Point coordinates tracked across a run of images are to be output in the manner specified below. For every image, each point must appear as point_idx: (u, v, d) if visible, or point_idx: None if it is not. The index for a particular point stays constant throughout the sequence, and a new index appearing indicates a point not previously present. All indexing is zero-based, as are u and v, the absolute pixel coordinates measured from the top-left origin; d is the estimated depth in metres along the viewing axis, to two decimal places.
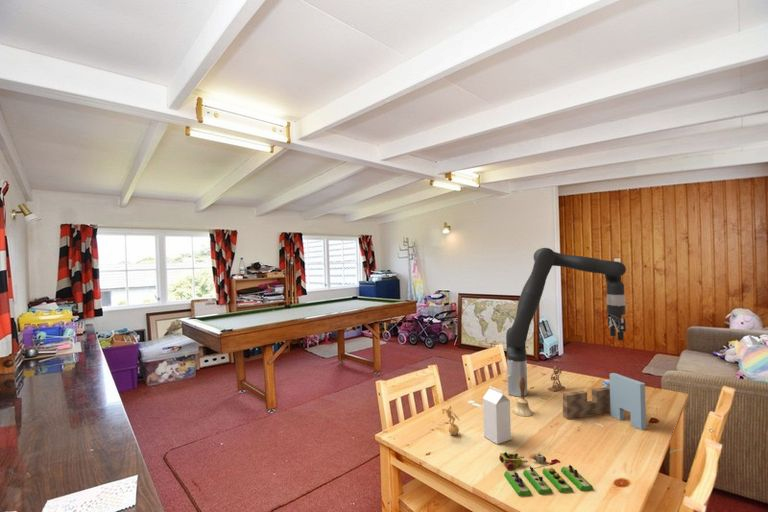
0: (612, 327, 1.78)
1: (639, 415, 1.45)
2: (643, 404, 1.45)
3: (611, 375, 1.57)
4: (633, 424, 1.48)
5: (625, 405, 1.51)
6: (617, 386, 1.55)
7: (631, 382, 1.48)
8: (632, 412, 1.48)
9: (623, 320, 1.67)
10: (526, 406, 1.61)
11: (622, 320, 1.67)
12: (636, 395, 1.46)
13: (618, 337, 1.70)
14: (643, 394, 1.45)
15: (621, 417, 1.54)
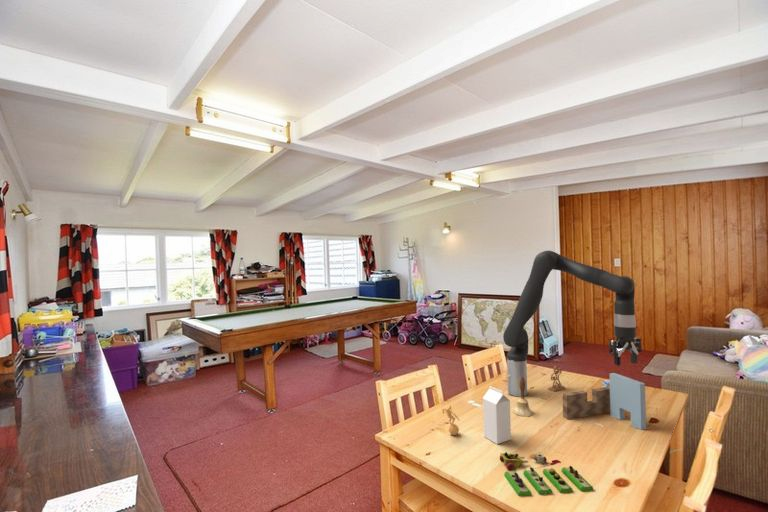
0: None
1: (639, 415, 1.45)
2: (643, 404, 1.45)
3: (611, 375, 1.57)
4: (633, 424, 1.48)
5: (625, 405, 1.51)
6: (617, 386, 1.55)
7: (631, 382, 1.48)
8: (632, 412, 1.48)
9: None
10: (526, 406, 1.61)
11: None
12: (636, 395, 1.46)
13: (636, 360, 1.52)
14: (643, 394, 1.45)
15: (621, 417, 1.54)
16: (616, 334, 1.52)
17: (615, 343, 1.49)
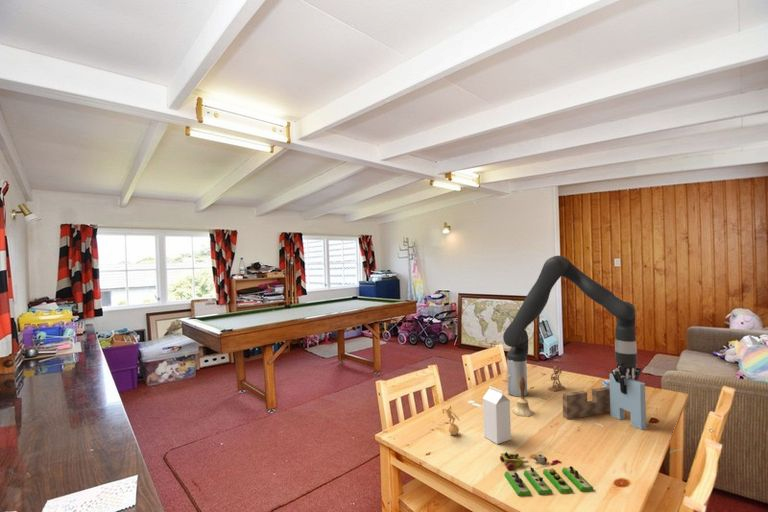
0: None
1: (639, 415, 1.45)
2: (643, 404, 1.45)
3: (611, 375, 1.57)
4: (633, 424, 1.48)
5: (625, 405, 1.51)
6: (617, 386, 1.55)
7: (631, 382, 1.48)
8: (632, 412, 1.48)
9: None
10: (526, 406, 1.61)
11: None
12: (636, 395, 1.46)
13: None
14: (643, 394, 1.45)
15: (621, 417, 1.54)
16: (617, 360, 1.52)
17: (617, 373, 1.49)
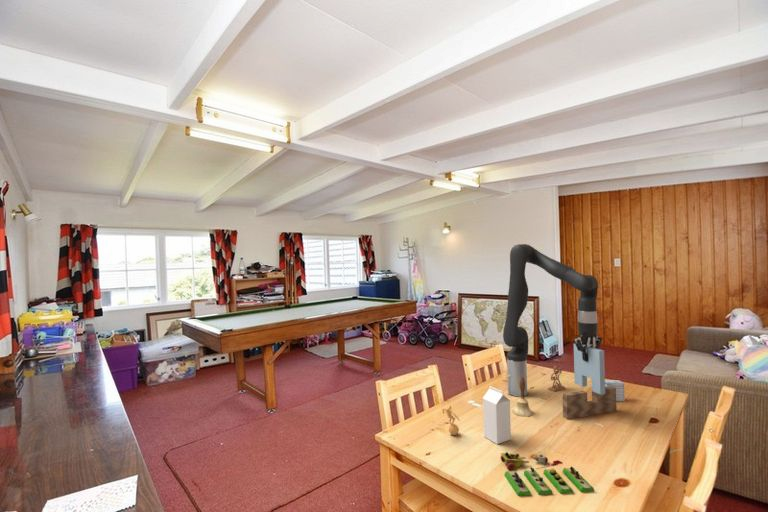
0: None
1: (598, 380, 1.54)
2: (602, 370, 1.54)
3: (575, 345, 1.66)
4: (593, 389, 1.56)
5: (587, 372, 1.60)
6: (580, 355, 1.63)
7: (592, 350, 1.57)
8: (593, 378, 1.57)
9: None
10: (526, 406, 1.61)
11: None
12: (596, 361, 1.55)
13: None
14: (602, 360, 1.54)
15: (584, 384, 1.63)
16: (579, 329, 1.60)
17: (579, 342, 1.58)
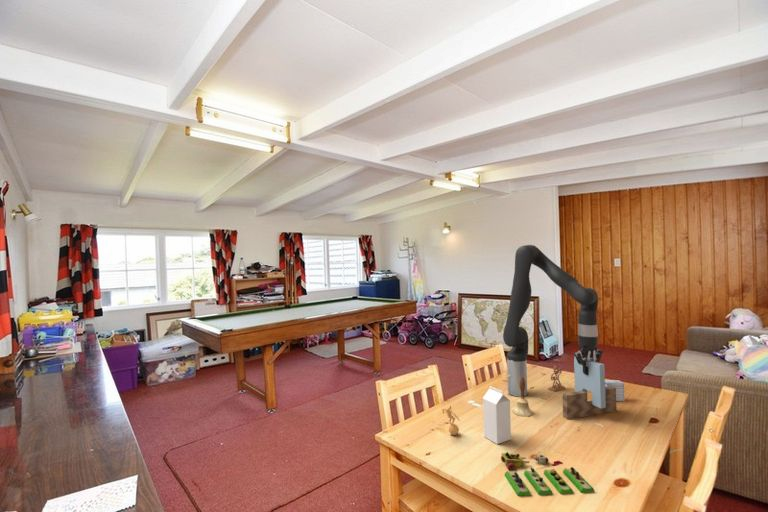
0: None
1: (599, 394, 1.54)
2: (602, 384, 1.54)
3: (575, 358, 1.66)
4: (594, 403, 1.56)
5: (587, 386, 1.60)
6: (580, 368, 1.63)
7: (592, 363, 1.57)
8: (593, 392, 1.56)
9: None
10: (526, 406, 1.61)
11: None
12: (596, 375, 1.55)
13: None
14: (602, 374, 1.54)
15: None
16: (579, 343, 1.60)
17: (579, 355, 1.58)
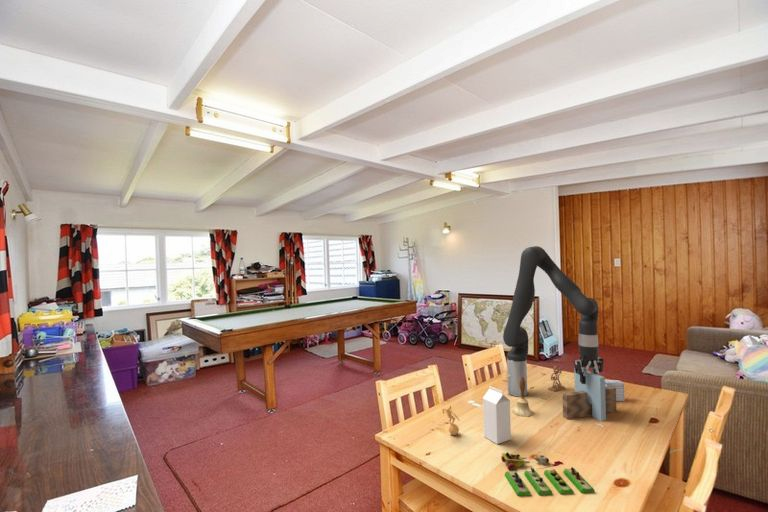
0: None
1: (599, 407, 1.54)
2: (603, 397, 1.54)
3: None
4: (594, 416, 1.56)
5: (587, 398, 1.60)
6: None
7: (592, 376, 1.57)
8: (594, 404, 1.57)
9: None
10: (526, 406, 1.61)
11: None
12: (597, 388, 1.55)
13: None
14: (603, 387, 1.54)
15: None
16: (580, 352, 1.60)
17: (579, 363, 1.57)
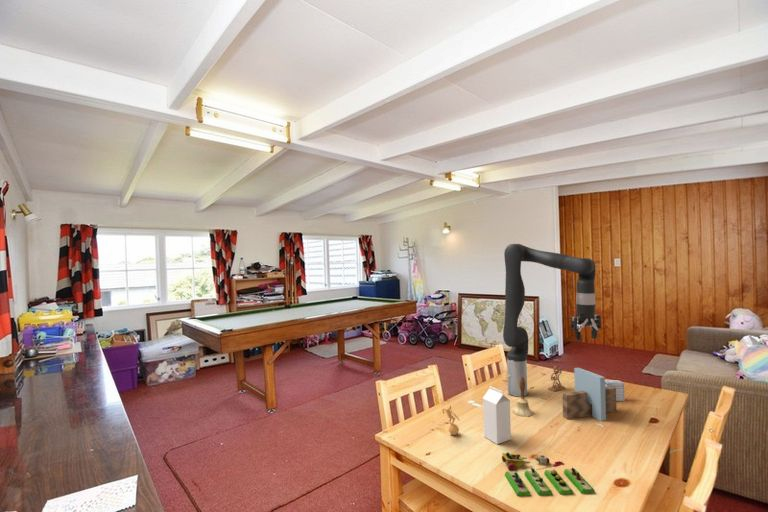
0: None
1: (599, 407, 1.54)
2: (603, 397, 1.54)
3: (575, 370, 1.66)
4: (594, 416, 1.56)
5: (587, 398, 1.60)
6: (580, 380, 1.63)
7: (592, 376, 1.57)
8: (594, 404, 1.57)
9: None
10: (526, 406, 1.61)
11: None
12: (597, 388, 1.55)
13: (596, 335, 1.65)
14: (603, 387, 1.54)
15: None
16: (577, 311, 1.65)
17: (575, 319, 1.62)
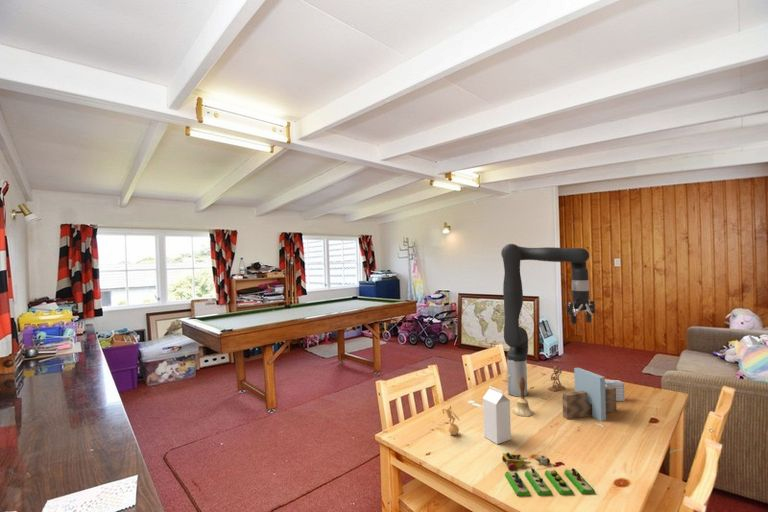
0: None
1: (599, 407, 1.54)
2: (603, 397, 1.54)
3: (575, 370, 1.66)
4: (594, 416, 1.56)
5: (587, 398, 1.60)
6: (580, 380, 1.63)
7: (592, 376, 1.57)
8: (594, 404, 1.57)
9: None
10: (526, 406, 1.61)
11: None
12: (597, 388, 1.55)
13: (590, 319, 1.79)
14: (603, 387, 1.54)
15: None
16: (572, 297, 1.78)
17: (571, 304, 1.75)
